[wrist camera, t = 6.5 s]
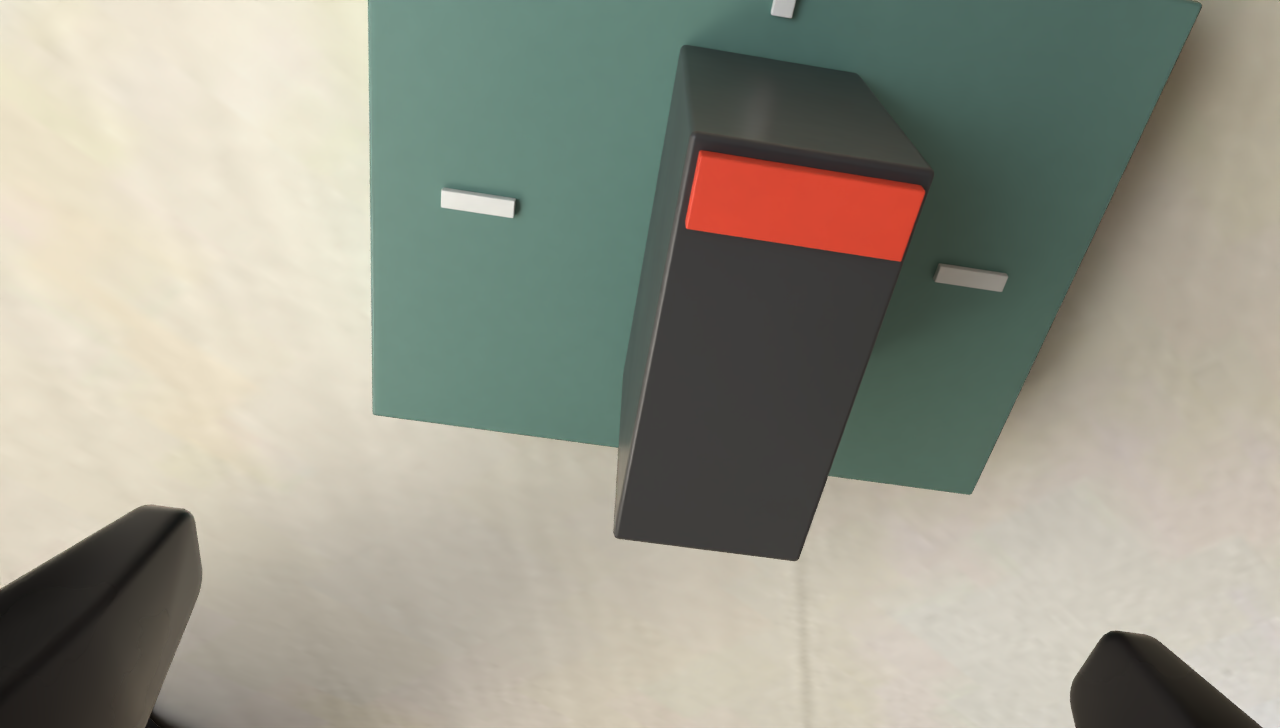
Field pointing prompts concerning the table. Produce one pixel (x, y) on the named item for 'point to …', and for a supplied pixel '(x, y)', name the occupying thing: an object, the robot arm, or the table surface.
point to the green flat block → (627, 176)
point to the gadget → (758, 299)
